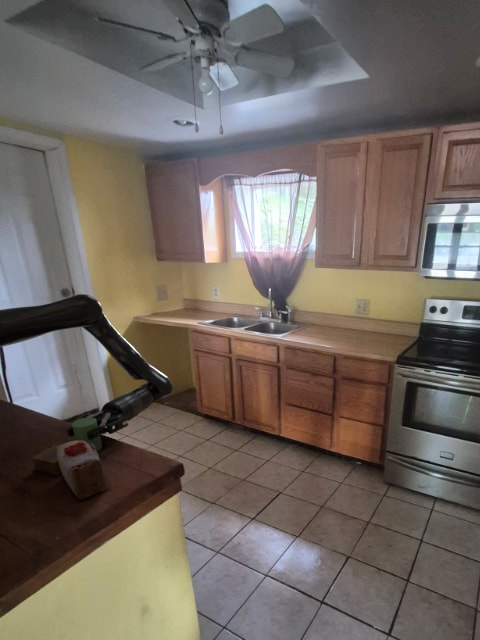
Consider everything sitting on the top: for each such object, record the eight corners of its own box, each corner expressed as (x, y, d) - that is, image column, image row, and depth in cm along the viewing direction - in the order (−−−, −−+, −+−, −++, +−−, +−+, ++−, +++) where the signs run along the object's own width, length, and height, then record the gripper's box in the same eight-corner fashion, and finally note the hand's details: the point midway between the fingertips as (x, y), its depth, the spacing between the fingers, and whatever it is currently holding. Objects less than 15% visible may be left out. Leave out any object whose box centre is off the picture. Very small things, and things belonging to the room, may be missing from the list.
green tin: (79, 456, 95) (71, 428, 92) (78, 446, 100) (71, 420, 97) (103, 450, 98) (96, 423, 95) (101, 441, 102) (95, 415, 99)
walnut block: (35, 470, 90) (31, 457, 88) (61, 455, 96) (57, 443, 94) (58, 475, 88) (54, 463, 86) (82, 460, 94) (79, 448, 92)
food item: (58, 475, 88) (48, 439, 84) (95, 463, 93) (86, 428, 89) (75, 503, 79) (64, 463, 75) (114, 487, 84) (106, 449, 80)
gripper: (100, 394, 110) (52, 418, 95) (142, 399, 106) (99, 425, 91) (105, 417, 113) (59, 444, 98) (146, 422, 109) (105, 451, 94)
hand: (78, 434), depth 95 cm, fingers closed on green tin, 5 cm apart
